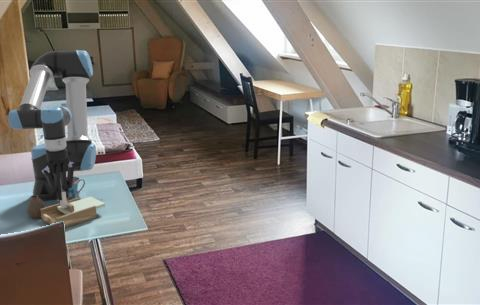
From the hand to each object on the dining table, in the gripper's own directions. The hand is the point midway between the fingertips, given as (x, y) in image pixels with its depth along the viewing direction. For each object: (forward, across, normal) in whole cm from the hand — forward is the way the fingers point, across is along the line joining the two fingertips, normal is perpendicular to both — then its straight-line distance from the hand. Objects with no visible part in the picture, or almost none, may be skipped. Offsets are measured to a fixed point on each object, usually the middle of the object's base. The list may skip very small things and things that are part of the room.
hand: (64, 206), depth 186 cm
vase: (+6, -6, +12) cm, 15 cm away
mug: (+6, +11, +15) cm, 19 cm away
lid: (+3, +7, 0) cm, 7 cm away
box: (+6, +2, 0) cm, 6 cm away
